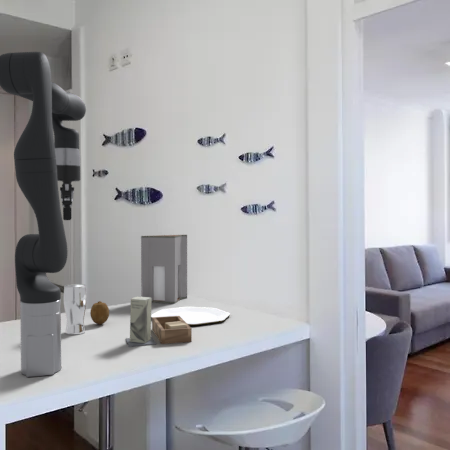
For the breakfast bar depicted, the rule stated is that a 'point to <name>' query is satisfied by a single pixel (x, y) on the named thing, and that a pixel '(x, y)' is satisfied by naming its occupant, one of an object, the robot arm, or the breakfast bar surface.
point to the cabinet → (164, 268)
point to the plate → (194, 314)
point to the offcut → (175, 325)
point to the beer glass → (75, 308)
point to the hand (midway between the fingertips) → (67, 219)
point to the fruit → (99, 313)
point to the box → (140, 319)
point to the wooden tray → (171, 330)
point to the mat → (150, 342)
